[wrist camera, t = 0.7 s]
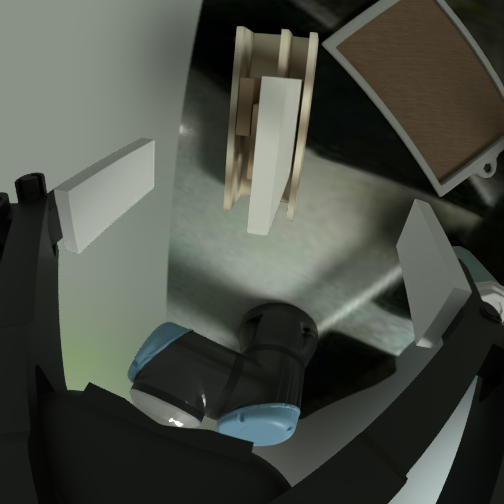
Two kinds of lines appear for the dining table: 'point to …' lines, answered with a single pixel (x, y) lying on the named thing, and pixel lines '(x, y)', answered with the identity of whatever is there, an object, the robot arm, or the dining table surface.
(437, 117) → the picture frame
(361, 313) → the dining table surface
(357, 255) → the dining table surface
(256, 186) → the tall sheet
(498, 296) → the disposable coffee cup
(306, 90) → the rack
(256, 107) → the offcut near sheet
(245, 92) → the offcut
